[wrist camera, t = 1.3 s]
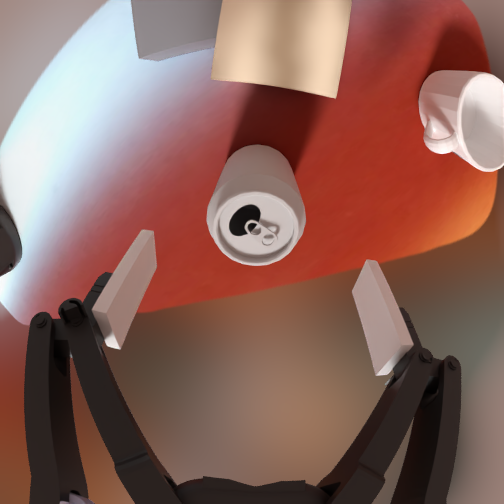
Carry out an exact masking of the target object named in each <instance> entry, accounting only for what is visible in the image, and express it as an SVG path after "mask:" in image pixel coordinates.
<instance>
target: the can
mask: <svg viewBox="0 0 504 504" xmlns="http://www.w3.org/2000/svg"><path fill="white" fill-rule="evenodd" d="M305 223H306V218H305V207H304V204H303V201H302V198H301V195H300V192H299V189H298V186H297V183H296V180H295V177H294V174H293V171H292V168H291V166H290V164H289V162H288V160H287V159H286V158H285V157H284V156H283V155H282V154H281V153H280V152H279V151H277V150H275V149H273V148H271V147H269V146H264V145H258V144H257V145H250V146H245V147H243V148H241V149H239V150H237V151H236V152H235V153H234V154H233V155H232V156H231V157H229V158H228V160H227V162H226V164H225V166H224V168H223V171H222V173H221V175H220V178H219V180H218V183H217V185H216V188H215V190H214V193H213V195H212V198H211V200H210V203H209V206H208V211H207V224H208V227H209V231H210V234H211V235H212V237H213V238H214V240H215V243H216V244H217V245H218V247H219V248H220V250H221V251H222V252H223V253H224V254H225V255H227V256H228V257H229V258H231V259H232V260H234V261H237V262H239V263H242V264H246V265H253V266H259V265H268V264H271V263H273V262H276V261H278V260H281V259H282V258H283V257H285V256H286V255H287V254H289V253H290V252H291V250H292V249H293V247H294V246H295V245H296V243H297V241H298V240H299V238H300V237H301V236H302V233H303V230H304V226H305Z"/></svg>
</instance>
